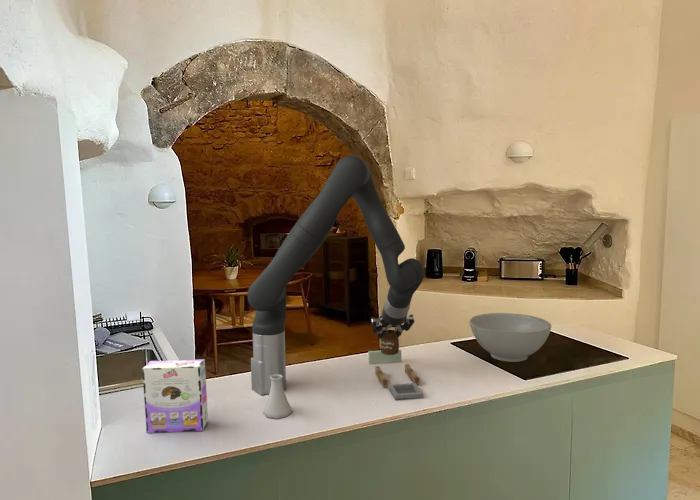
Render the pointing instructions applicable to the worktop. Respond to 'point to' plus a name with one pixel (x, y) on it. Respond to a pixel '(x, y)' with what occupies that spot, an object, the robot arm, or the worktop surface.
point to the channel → (408, 371)
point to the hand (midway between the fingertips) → (388, 335)
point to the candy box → (175, 396)
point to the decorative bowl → (510, 334)
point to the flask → (277, 400)
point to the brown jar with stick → (389, 342)
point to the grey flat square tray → (405, 391)
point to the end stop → (383, 357)
